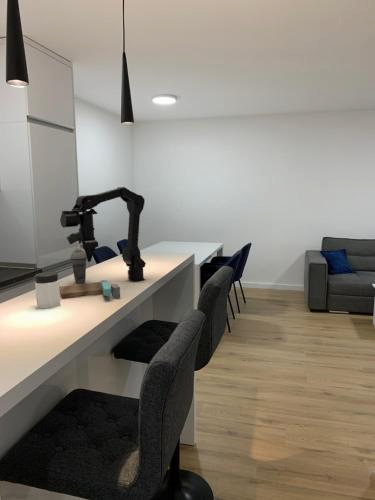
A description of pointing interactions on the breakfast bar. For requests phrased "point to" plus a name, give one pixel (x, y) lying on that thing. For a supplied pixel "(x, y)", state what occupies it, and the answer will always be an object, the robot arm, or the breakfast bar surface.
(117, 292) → the post
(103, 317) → the breakfast bar surface
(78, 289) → the board
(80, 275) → the beverage cup
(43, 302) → the jar
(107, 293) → the leg
